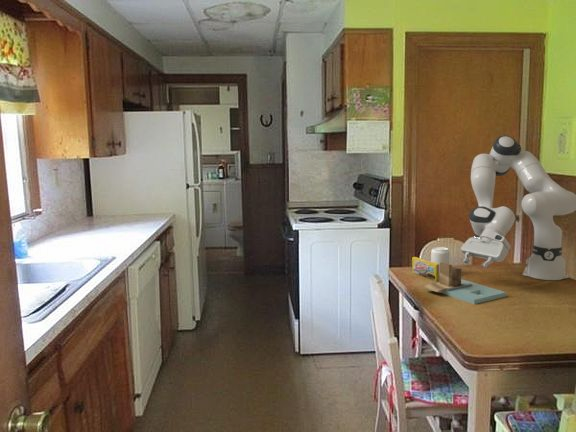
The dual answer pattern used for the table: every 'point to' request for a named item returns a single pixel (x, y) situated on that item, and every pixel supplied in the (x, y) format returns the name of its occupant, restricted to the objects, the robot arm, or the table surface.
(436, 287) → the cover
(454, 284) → the walnut block
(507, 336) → the table surface
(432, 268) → the candy box
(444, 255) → the beverage can
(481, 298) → the puzzle board
